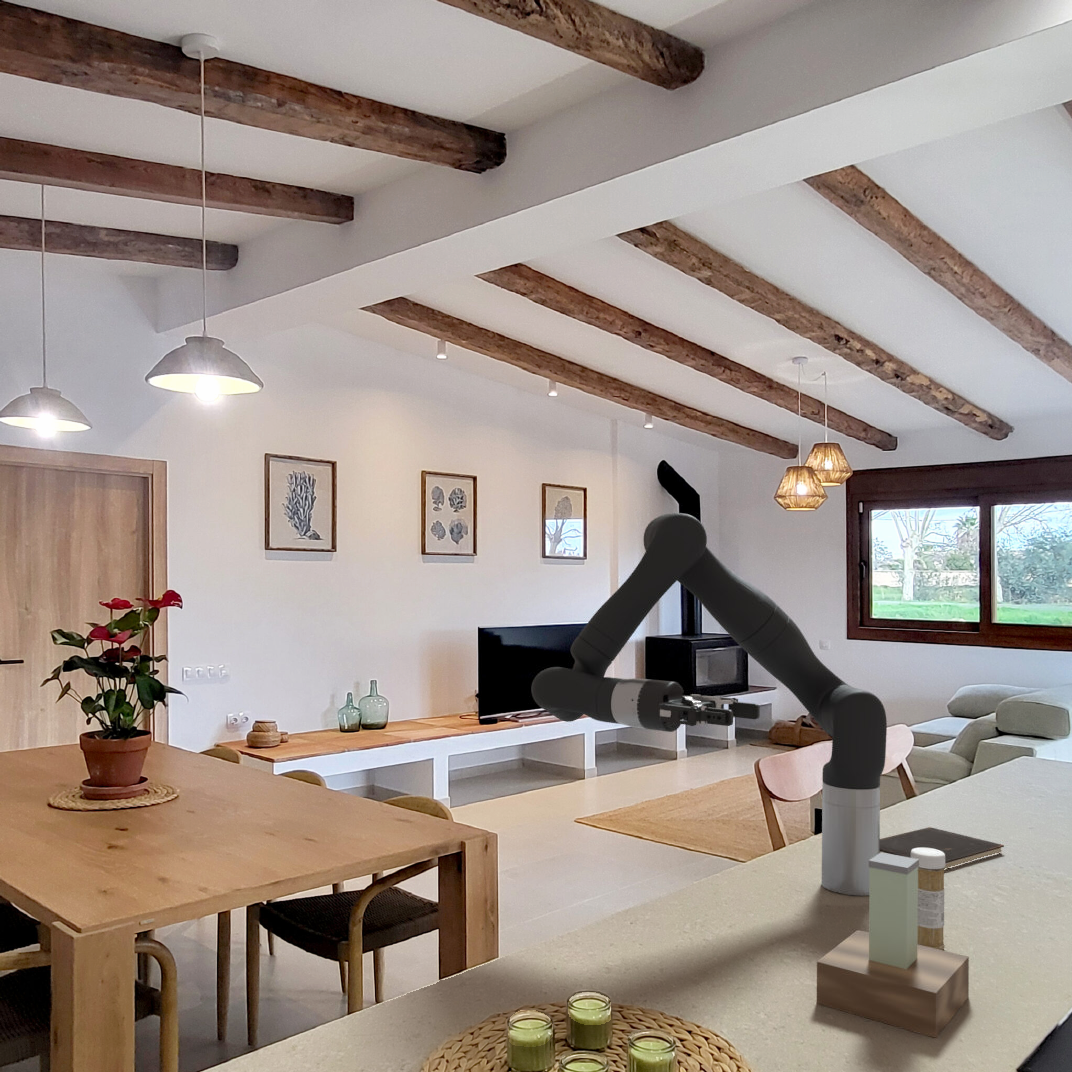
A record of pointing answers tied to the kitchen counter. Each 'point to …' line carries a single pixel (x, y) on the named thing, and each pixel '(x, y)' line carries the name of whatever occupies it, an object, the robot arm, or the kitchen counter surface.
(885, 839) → the hardcover book
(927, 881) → the sprinkles bottle
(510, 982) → the kitchen counter surface
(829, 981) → the walnut block
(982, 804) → the kitchen counter surface
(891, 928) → the green tin canister
